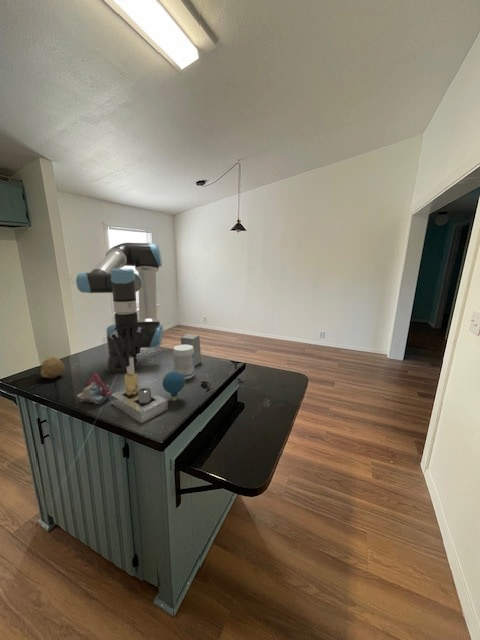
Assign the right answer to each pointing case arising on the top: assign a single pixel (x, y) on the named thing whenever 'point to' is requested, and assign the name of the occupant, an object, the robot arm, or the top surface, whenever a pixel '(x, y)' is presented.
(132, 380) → the brass bushing
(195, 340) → the skincare box
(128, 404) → the jig
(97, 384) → the grey red irregular piece
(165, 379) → the light bulb
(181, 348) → the supplement tub
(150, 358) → the top surface
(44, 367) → the natural sponge
